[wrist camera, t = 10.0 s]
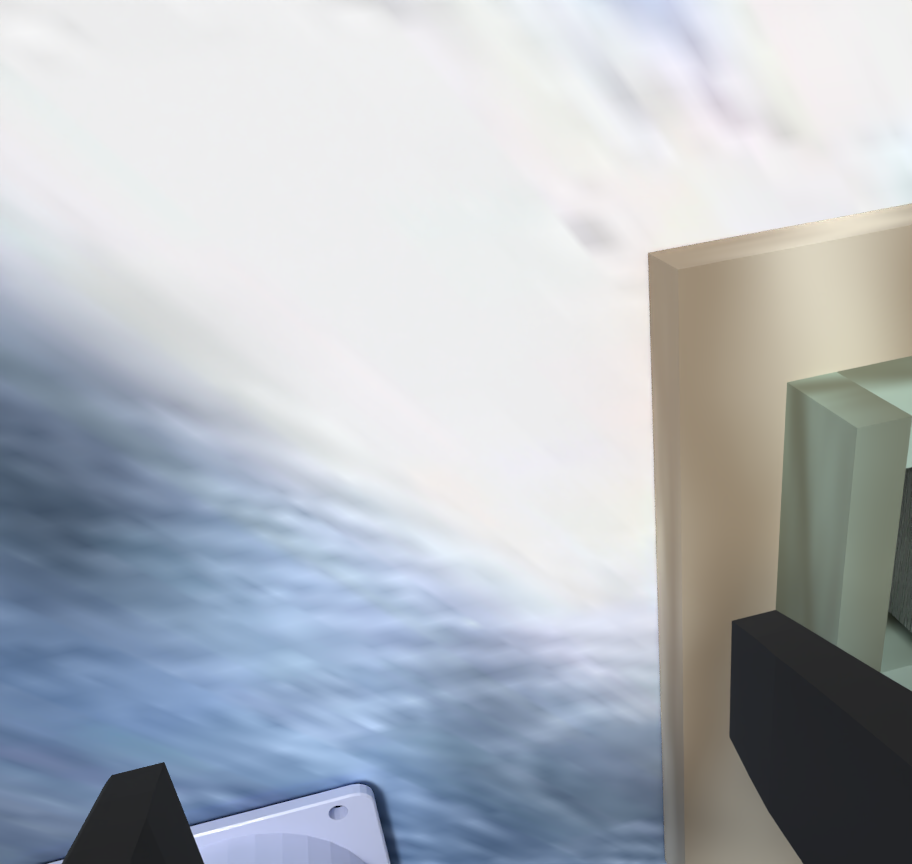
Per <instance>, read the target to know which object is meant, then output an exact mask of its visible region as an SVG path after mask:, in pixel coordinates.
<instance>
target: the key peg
mask: <svg viewBox="0 0 912 864" xmlns="http://www.w3.org/2000/svg"><path fill="white" fill-rule="evenodd" d="M888 611H889V612H890V613H891V614H892V615H893V616H894V617H895V618H896V619H897V620H898V621H899V622H901V623H902V624H903V625H904V626H905V627H906V628H907V629H908V630H909V631H910V632H911V633H912V467H911V468H906V472H905V480H904V488H903V496H902V504H901V512H900V520H899V527H898V535H897V543H896V551H895V559H894V567H893V575H892V583H891V591H890V599H889V607H888Z"/></svg>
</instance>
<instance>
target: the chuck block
mask: <svg viewBox="0 0 912 864" xmlns="http://www.w3.org/2000/svg"><path fill="white" fill-rule="evenodd" d="M648 263H649V299H650V336H651V372H652V409H653V445H654V481H655V518H656V554H657V591H658V627H659V663H660V700H661V736H662V772H663V809H664V845H665V860H666V862H667V864H803V863H802V861H801V860H800V858H799V857H798V855H797V854H796V852H795V851H794V849H793V848H792V846H791V845H790V843H789V842H788V840H787V839H786V837H785V836H784V834H783V833H782V832H781V830H780V829H779V827H778V825H777V824H776V822H775V821H774V819H773V818H772V816H771V815H770V813H769V812H768V810H767V808H766V807H765V805H764V803H763V801H762V799H761V797H760V795H759V794H758V792H757V790H756V788H755V786H754V784H753V782H752V781H751V779H750V777H749V775H748V773H747V771H746V769H745V767H744V765H743V763H742V761H741V759H740V757H739V755H738V753H737V751H736V749H735V747H734V745H733V743H732V741H731V739H730V737H729V726H730V680H731V634H732V621H733V620H737V619H741V618H745V617H749V616H753V615H757V614H761V613H765V612H769V611H773V610H777V611H779V612H780V613H782V614H784V615H785V616H787V617H789V618H791V619H792V620H794V621H796V622H797V623H799V624H801V625H802V626H804V627H806V628H807V629H809V630H811V631H812V632H814V633H816V634H817V635H819V636H821V637H822V638H824V639H826V640H827V641H829V642H830V643H832V644H834V645H835V646H837V647H839V648H840V649H842V650H844V651H845V652H847V653H849V654H850V655H852V656H854V657H855V658H857V659H859V660H860V661H862V662H864V663H865V664H867V665H869V666H870V667H872V668H874V669H875V670H877V671H878V672H880V673H882V674H884V675H885V676H887V677H889V678H890V679H892V680H894V681H895V682H897V683H899V684H900V685H902V686H904V687H906V688H907V689H909V690H911V691H912V633H911V632H910V631H909V630H908V629H907V628H906V627H905V626H904V625H903V624H902V623H901V622H899V621H898V620H897V619H896V618H895V617H894V616H893V615H892V614H891V613H890V612H889V611H888V607H889V599H890V591H891V583H892V575H893V567H894V559H895V551H896V543H897V535H898V527H899V520H900V512H901V504H902V496H903V488H904V480H905V472H906V468H911V467H912V204H907V205H902V206H897V207H891V208H886V209H881V210H875V211H870V212H865V213H859V214H854V215H849V216H843V217H838V218H833V219H827V220H822V221H817V222H811V223H806V224H801V225H795V226H790V227H785V228H779V229H774V230H769V231H763V232H758V233H752V234H747V235H742V236H736V237H731V238H726V239H720V240H715V241H710V242H704V243H699V244H694V245H688V246H683V247H678V248H672V249H667V250H662V251H656V252H651V253H648Z"/></svg>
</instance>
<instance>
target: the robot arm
mask: <svg viewBox="0 0 912 864" xmlns="http://www.w3.org/2000/svg"><path fill="white" fill-rule="evenodd" d="M729 737H730V739H731V741H732V743H733V745H734V747H735V749H736V751H737V753H738V755H739V757H740V759H741V761H742V763H743V765H744V767H745V769H746V771H747V773H748V775H749V777H750V779H751V781H752V782H753V784H754V786H755V788H756V790H757V792H758V794H759V795H760V797H761V799H762V801H763V803H764V805H765V807H766V808H767V810H768V812H769V813H770V815H771V816H772V818H773V819H774V821H775V822H776V824H777V825H778V827H779V829H780V830H781V832H782V833H783V834H784V836H785V837H786V839H787V840H788V842H789V843H790V845H791V846H792V848H793V849H794V851H795V852H796V854H797V855H798V857H799V858H800V860H801V861H802V863H803V864H912V691H911V690H909V689H907V688H906V687H904V686H902V685H900V684H899V683H897V682H895V681H894V680H892V679H890V678H889V677H887V676H885V675H884V674H882V673H880V672H878V671H877V670H875V669H874V668H872V667H870V666H869V665H867V664H865V663H864V662H862V661H860V660H859V659H857V658H855V657H854V656H852V655H850V654H849V653H847V652H845V651H844V650H842V649H840V648H839V647H837V646H835V645H834V644H832V643H830V642H829V641H827V640H826V639H824V638H822V637H821V636H819V635H817V634H816V633H814V632H812V631H811V630H809V629H807V628H806V627H804V626H802V625H801V624H799V623H797V622H796V621H794V620H792V619H791V618H789V617H787V616H785V615H784V614H782V613H780V612H779V611H777V610H773V611H769V612H765V613H761V614H757V615H753V616H749V617H745V618H741V619H737V620H733V621H732V634H731V680H730V726H729ZM339 805H342V806H341V807H339V808H333V807H335V806H339ZM48 864H391V862H390V858H389V854H388V850H387V846H386V842H385V838H384V834H383V830H382V826H381V822H380V818H379V813H378V809H377V805H376V801H375V797H374V793H373V791H372V789H371V788H370V787H368V786H367V785H363V784H352V785H348V786H344V787H341V788H337V789H333V790H329V791H325V792H321V793H317V794H314V795H310V796H306V797H302V798H298V799H294V800H290V801H287V802H283V803H279V804H275V805H271V806H267V807H264V808H260V809H256V810H252V811H248V812H244V813H240V814H237V815H233V816H229V817H225V818H221V819H217V820H214V821H210V822H206V823H202V824H198V825H194V826H189V824H188V821H187V819H186V816H185V814H184V811H183V808H182V806H181V803H180V801H179V798H178V796H177V793H176V791H175V788H174V786H173V783H172V781H171V778H170V776H169V773H168V770H167V768H166V765H165V763H164V762H163V763H159V764H155V765H151V766H147V767H143V768H139V769H135V770H131V771H127V772H123V773H119V774H115V775H112V776H111V777H110V778H109V780H108V781H107V782H106V784H105V785H104V787H103V789H102V791H101V793H100V795H99V796H98V798H97V800H96V802H95V804H94V806H93V807H92V809H91V811H90V813H89V815H88V817H87V818H86V820H85V822H84V824H83V826H82V828H81V829H80V831H79V833H78V835H77V837H76V839H75V840H74V842H73V844H72V846H71V848H70V850H69V851H68V853H67V855H66V857H65V859H63V860H60V861H56V862H52V863H48Z"/></svg>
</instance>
